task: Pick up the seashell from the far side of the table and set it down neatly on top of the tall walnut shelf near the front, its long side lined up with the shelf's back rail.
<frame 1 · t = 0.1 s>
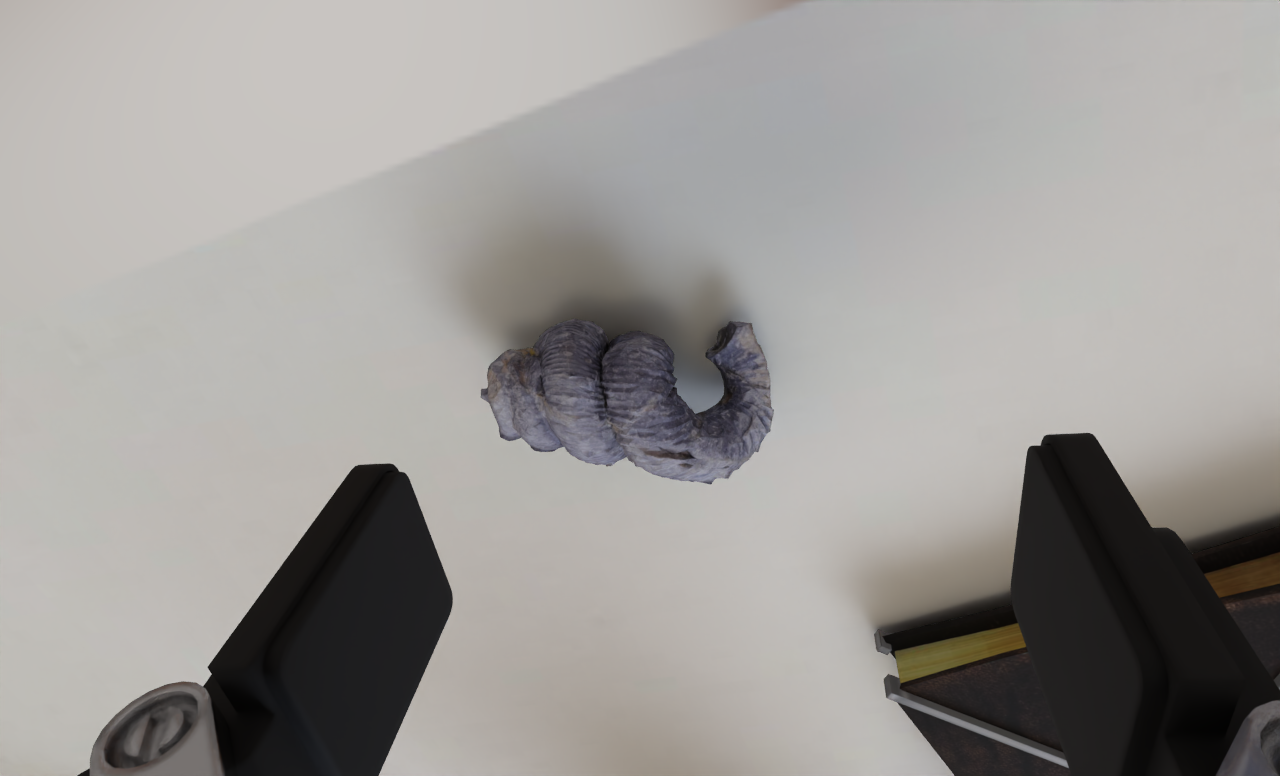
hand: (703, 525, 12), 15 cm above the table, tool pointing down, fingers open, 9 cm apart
seashell: (633, 363, 28), on the table
book: (1144, 724, 35), on the table
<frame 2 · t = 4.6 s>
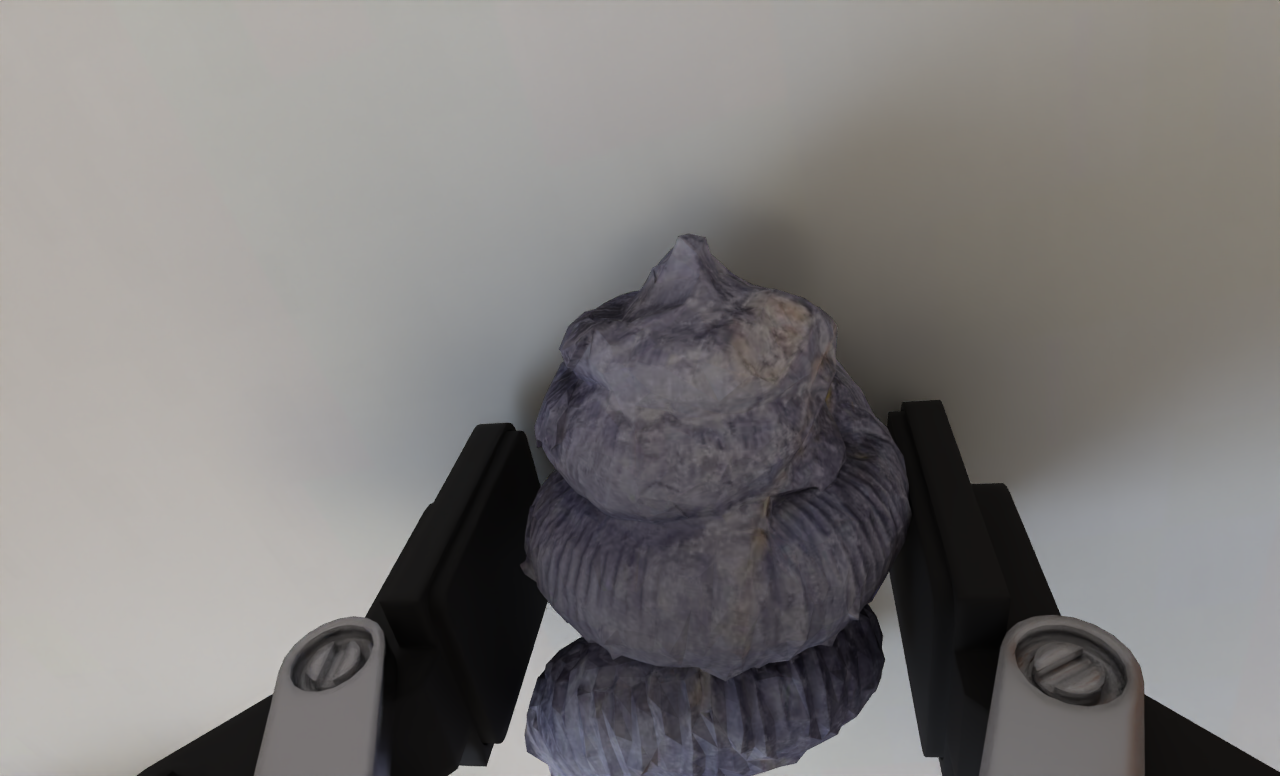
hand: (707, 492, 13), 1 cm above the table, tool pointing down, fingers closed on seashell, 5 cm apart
seashell: (703, 464, 13), on the table, touching gripper
when the fingers open (23 cm above the table, at t = 12.4 s): seashell stays where it is, resting on shelf.
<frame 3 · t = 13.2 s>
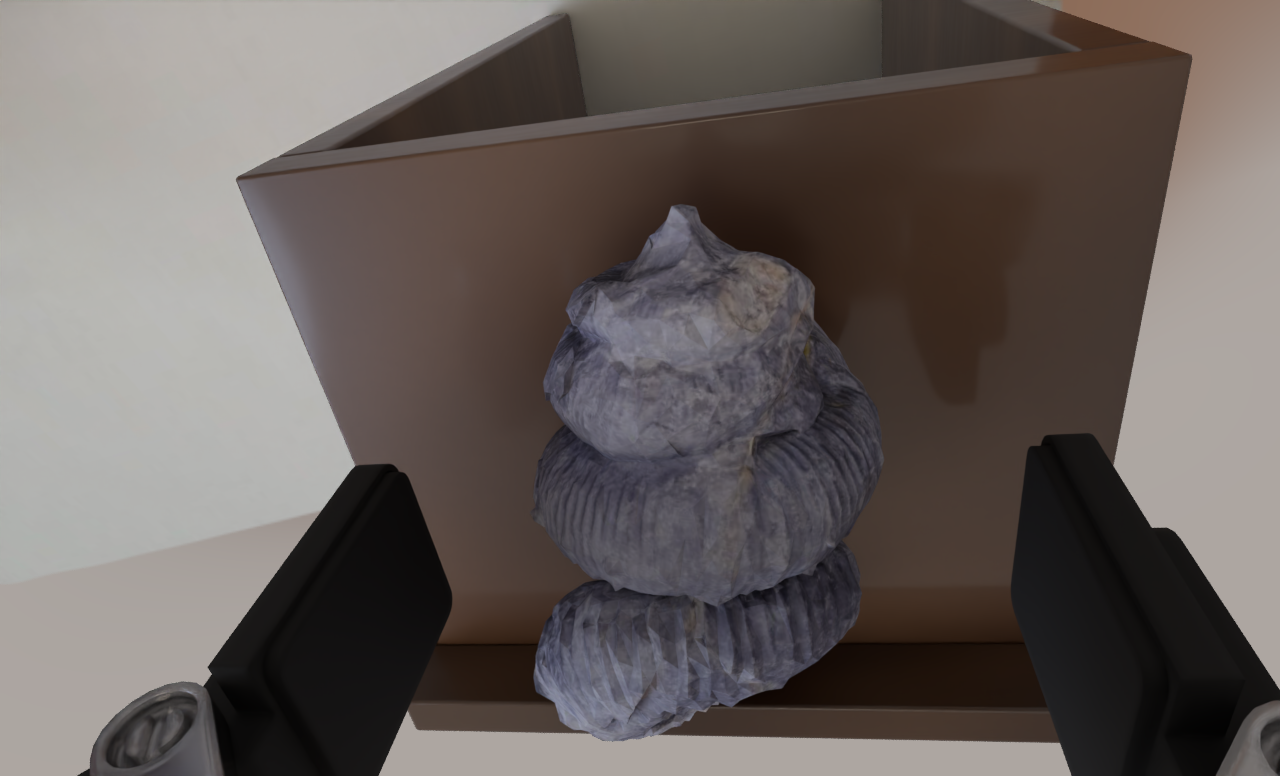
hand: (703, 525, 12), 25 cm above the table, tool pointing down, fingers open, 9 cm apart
seashell: (697, 428, 14), point 22 cm above the table, touching shelf
shelf: (733, 146, 33), on the table
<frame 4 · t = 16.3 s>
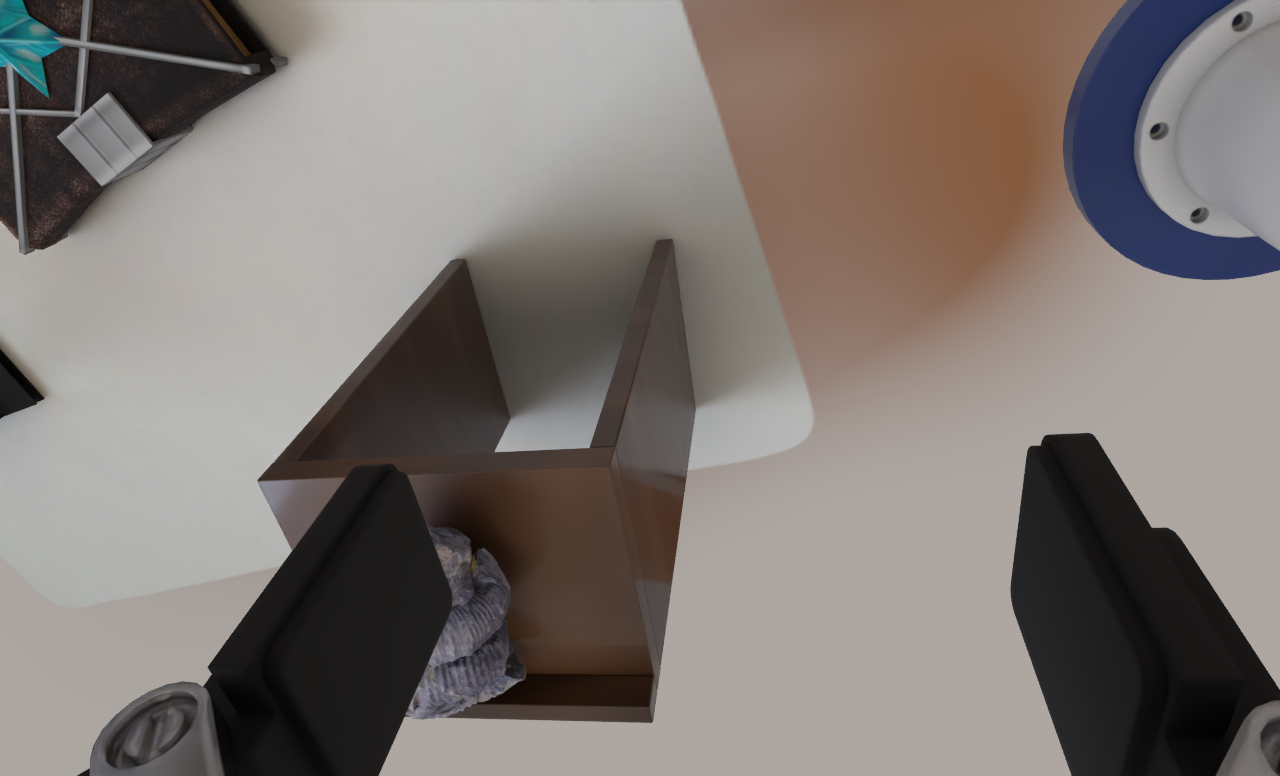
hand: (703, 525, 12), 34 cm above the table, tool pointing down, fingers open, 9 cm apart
seashell: (464, 579, 32), point 22 cm above the table, touching shelf
shelf: (577, 337, 50), on the table
book: (62, 26, 44), on the table
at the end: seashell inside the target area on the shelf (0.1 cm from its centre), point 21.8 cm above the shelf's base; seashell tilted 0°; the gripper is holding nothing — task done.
